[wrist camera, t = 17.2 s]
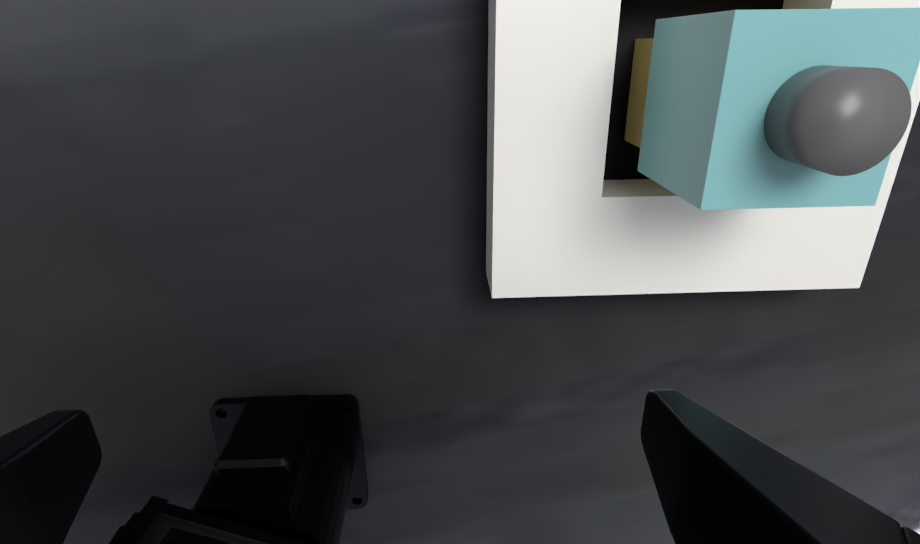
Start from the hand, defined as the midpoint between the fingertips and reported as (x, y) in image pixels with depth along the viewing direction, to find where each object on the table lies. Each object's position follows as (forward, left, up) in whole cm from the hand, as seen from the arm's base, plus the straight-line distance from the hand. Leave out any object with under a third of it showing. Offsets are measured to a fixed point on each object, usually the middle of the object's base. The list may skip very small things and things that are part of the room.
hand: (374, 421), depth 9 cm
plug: (+4, -10, -13) cm, 17 cm away
